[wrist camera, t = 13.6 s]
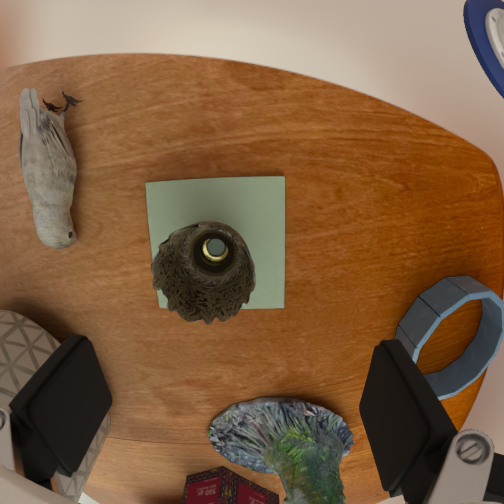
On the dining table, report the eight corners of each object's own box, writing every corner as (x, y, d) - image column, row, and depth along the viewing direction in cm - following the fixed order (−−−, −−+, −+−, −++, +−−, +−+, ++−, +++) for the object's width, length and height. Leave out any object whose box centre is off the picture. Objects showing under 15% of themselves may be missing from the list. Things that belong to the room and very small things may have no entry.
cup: (269, 264, 28) (273, 301, 21) (202, 295, 29) (185, 338, 22) (232, 193, 26) (222, 206, 19) (164, 230, 28) (132, 255, 20)
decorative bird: (59, 242, 29) (19, 262, 22) (49, 105, 24) (6, 97, 17) (96, 239, 29) (57, 261, 21) (86, 92, 24) (45, 78, 17)
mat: (147, 182, 27) (145, 182, 26) (284, 175, 27) (284, 176, 26) (161, 305, 31) (159, 308, 30) (283, 305, 30) (284, 308, 30)
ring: (406, 279, 29) (427, 298, 25) (496, 272, 29) (518, 286, 24) (381, 386, 34) (393, 411, 29) (466, 367, 34) (482, 386, 29)
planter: (-20, 287, 31) (-118, 358, 8) (99, 310, 31) (-23, 460, 8) (25, 403, 38) (-31, 483, 15) (135, 440, 38) (94, 557, 15)
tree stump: (209, 381, 34) (239, 506, 17) (348, 371, 39) (419, 454, 22) (204, 460, 38) (224, 553, 22) (316, 447, 44) (359, 521, 27)
